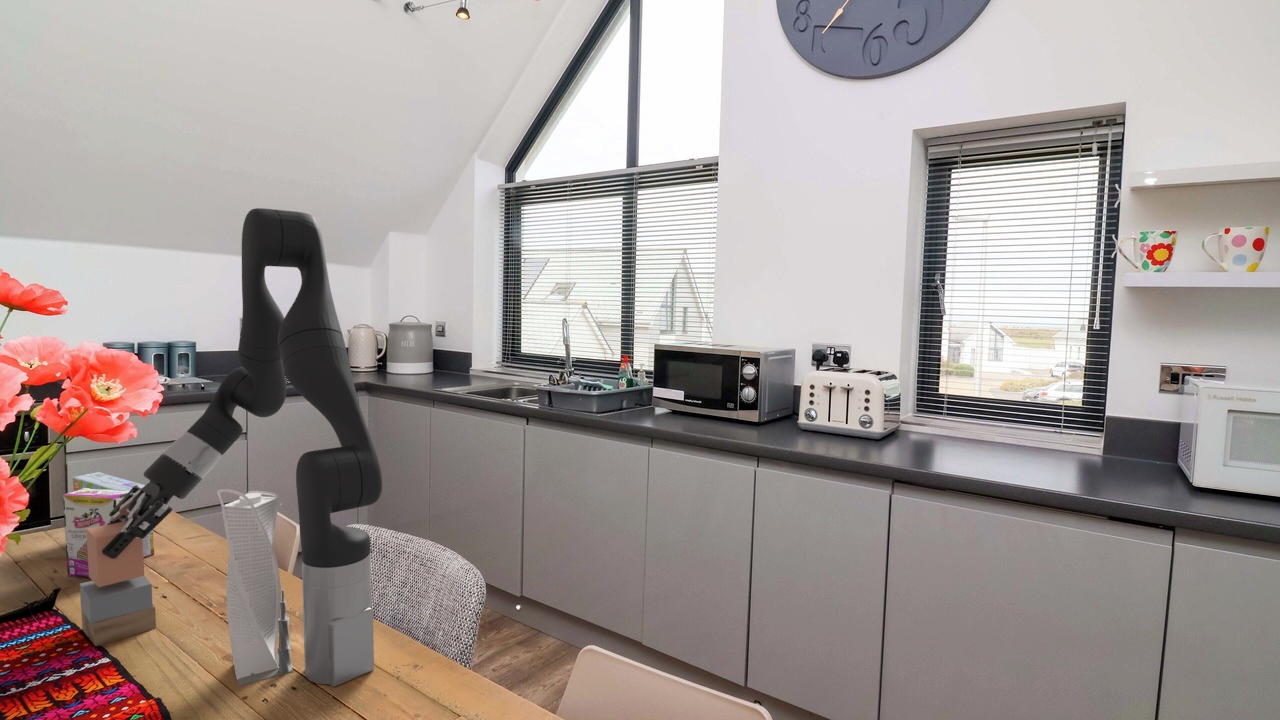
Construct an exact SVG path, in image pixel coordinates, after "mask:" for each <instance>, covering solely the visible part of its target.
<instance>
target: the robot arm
mask: <svg viewBox="0 0 1280 720" xmlns="http://www.w3.org/2000/svg"><path fill="white" fill-rule="evenodd" d="M325 253H326V252H325V247H324V241H323V236H322V232H321V228H320V226H319V223H318V221H317V220H316V218H315V217H314V216H313V215H312V214H310V213H306V212H301V211H300V212H299V211H292V210H286V209H285V210H283V209H272V208H261V207H258V208H257V207H256V208H252V209H250V210H249V211H248V212H247V214H246V215H245V218H244V221H243V226H242V233H241V294H242V295H241V296H242V297H241V298H242V316H241V317H242V319H241V328H240V333H239V342H238V348H237V360H238V362H239V364H240V365H241V366H240V367H237V368H235V369H233V370H232V371H230V372H229V373H228V374H227V375H226V376H224V379H222V382H221V383H220V385H219V387H218V388H217V391H216V392H215V394H214V395H213V398H212V399H211V401H210V402H209V404H208V406H207V408H206V410H205V411H204V413H203V414H202V415H201V416H200V417H199V418H198V419H197V420H196V421H195V422H194V423H193V424H192V425H191V426H190V427H189V428H188V430H187V431H185V432H184V433H183V434H182V435H180V437H178V438H177V439H176V440H174V441H173V442H172V443H171V444H170V445H169V446H168V447H167V448H166V449H165V450H164V451H163V452H162V453H161V455H159V456H158V458H156V459H155V461H154V462H153V463H152V464H151V465H149V467H147V468H146V469H145V471H144V472H143V477H145V478H146V479H148V480H149V482H148V483H146V484H144V485H145V486H144V487H143V488H142V489H141V488H140V487H138V486H137V485H136V486H134V487H133V488H132V489H131V490H130V491H129V492H128V493H127V495H126V496H125V497H124V498H123V499H122V500H121V501H120V502H119V504H118V505H117V506H116V507H115V508H114V509H113V510H112V511H111V512H110V514H109V516H111V518H110V519H109V522H110V523H108V524H107V525H110V524H114V523H119V522H124V521H128V522H127V523H126V525H125V526H124V528H123V529H122V531H121V532H119V533H118V535H117V536H116V537H115V538H114V539H113V540H112V541H111V542H110V543H109V544H108V545H107V546H106V547H105V548H104V549H103V550H102V553H103V554H104V555H106V556H108V557H110V558H112V559H115V558H117V557H118V555H119V554H120V553H121V552H122V551H123V550H124V549H125V548H126V547H127V546H128V545H129V544H130V543H131V542H132V541H133V539H137V538H141V539H143V538H144V537H146V536H147V535H148V534H149V533H150V532H151V531H152V530H153V531H154V529H155V528H156V527H157V526H158V525H159V524H160V523H161V522H162V521H163V520H164V519H165V518H166V517H168V515H169V514H171V512H172V511H173V508H172V506H171V507H170V506H169V505H168V504H169V502H170V501H171V499H172V498H173V497H175V498H178V499H180V500H184V499H185V498H187V497H188V495H189V494H190V493H191V492H192V491H193V490H194V489H195V488H196V486H198V485H199V483H201V481H202V480H203V479H204V478H206V476H207V475H208V474H209V473H210V472H211V470H212V469H213V468H214V467H215V466H216V465H217V463H218V461H219V460H221V458H222V457H223V455H225V454H226V452H227V451H228V450H229V449H230V448H231V447H232V446H233V445H234V443H235V442H236V441H237V440H238V439H239V438H240V437H241V436H242V435H243V426H242V425H241V424H240V423H239V422H238V420H236V418H234V417H233V415H234V412H235V409H236V408H237V407H240V408H242V409H243V410H245V411H246V412H248V413H249V414H251V415H254V416H255V417H258V418H269V417H271V416H274V415H275V414H277V412H279V411H280V410H281V408H282V407H283V406H284V404H285V401H286V397H287V382H286V381H287V380H288V382H289V383H290V384H291V386H292V387H293V388H294V389H295V390H296V392H298V393H299V394H300V395H301V396H302V397H303V399H305V400H306V401H307V402H308V403H309V404H311V405H312V406H313V407H314V409H316V410H317V411H319V413H321V415H322V416H324V418H325V419H326V420H327V422H328V423H329V425H331V427H332V429H333V430H334V433H335V434H336V436H337V439H338V442H339V444H340V446H338V447H330V448H325V449H317V450H316V449H315V450H312V451H311V450H309V451H307V452H305V453H303V454H302V455H301V456H300V458H299V459H298V461H297V465H296V469H295V470H296V471H295V481H296V482H295V483H296V485H295V486H296V487H295V488H296V496H297V506H298V507H297V508H298V518H299V519H298V520H299V536H300V537H299V538H300V548H301V577H302V580H301V581H302V582H301V583H302V584H301V585H302V612H303V615H302V618H303V622H302V623H303V652H304V676H305V677H306V679H307V680H308V681H310V682H311V683H315V684H320V685H321V684H322V685H330V686H332V687H336V686H337V687H338V686H339V685H341V684H344V683H346V682H349V681H351V680H353V679H356V678H358V677H360V676H362V675H365V674H367V673H370V672H371V671H373V670H375V656H374V655H375V654H374V653H375V652H374V651H375V649H374V646H375V645H374V644H375V642H374V610H373V608H372V578H371V577H372V576H371V575H372V573H371V572H372V567H371V564H372V563H371V562H372V561H371V560H372V559H371V556H372V555H371V547H372V546H371V538H370V535H369V533H368V532H367V531H365V530H363V529H360V528H357V527H354V526H345V525H339V524H334V523H332V521H331V514H332V513H333V514H334V513H337V512H342V511H343V512H344V511H349V510H353V509H358V508H363V507H367V506H371V505H373V504H375V503H377V502H378V501H379V499H380V497H381V495H382V491H383V475H382V470H381V465H380V461H379V458H378V455H377V450H376V448H375V445H374V443H373V440H372V437H371V435H370V434H371V433H370V432H369V429H368V426H367V423H366V419H365V417H364V414H363V411H362V409H361V405H360V401H359V397H358V394H357V390H356V387H355V382H354V378H353V374H352V369H351V366H350V360H349V355H348V351H347V348H346V342H345V339H344V335H343V332H342V328H341V324H340V322H339V317H338V314H337V311H336V308H335V304H334V303H335V302H334V300H333V299H334V298H333V294H332V291H331V286H330V280H329V279H330V278H329V274H328V268H327V261H326V254H325ZM266 267H281V268H282V267H283V268H297V269H298V271H299V273H300V277H301V285H300V289H299V291H298V293H297V296H296V298H295V300H294V301H293V303H292V305H291V306H290V307H289V310H288V311H287V313H286V315H285V316H284V314H283V313H282V311H281V309H280V307H279V305H278V304H277V302H276V301H275V300H274V297H273V296H272V294H271V292H270V291H269V288H268V285H267V283H266V278H265V274H266V273H265V271H266ZM286 379H287V380H286ZM134 522H135V523H134ZM146 527H147V528H146ZM145 528H146V529H145ZM144 529H145V530H144ZM122 532H123V533H122Z"/></svg>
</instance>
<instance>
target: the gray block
mask: <svg viewBox="0 0 1280 720" xmlns="http://www.w3.org/2000/svg"><path fill="white" fill-rule="evenodd" d="M152 586H153V585H152V582H151V581H150V580H149V579H148V578H147V577H146V576H145V575H144V576H142V577H138V578H134V579H130V580H126V581H122V582H118V583H114V584H110V585H106V586H102V587H98V586H97V585H96V584H95V583H94V582H93V581H92V580H90V581H87V582H86V581H85V582H81V583H79V594H80V596H79V597H80V609H81V608H82V610H83V612H84V613H85V615H86V617H87V618H88V620H89V622H90V623H91V624H92V623H96V622H100V621H104V620H107V619H111V618H115V617H119V616H122V615H126V614H130V613H134V612H137V611H141V610H145V609H149V608H152V607H153V605H154V604H153V589H152V588H153V587H152ZM152 604H153V605H152Z"/></svg>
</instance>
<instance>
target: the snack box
mask: <svg viewBox="0 0 1280 720" xmlns="http://www.w3.org/2000/svg"><path fill="white" fill-rule="evenodd" d="M136 485H137V486H138V487H140V488H141V489H142V488H143V487H144V486H145V485H146V484H143V483H142V484H141V483H139V482H135V481H132V480H128V479H124V478H120V477H117V476H114V475H110V474H107V473H104V472H100V471H97V472H92V473H85V474H82V475H77V476H73V477H72V486H73V491H76V490H80V489H83V488H92V489H106V490H121V491H130V490H131V489H132V488H133V487H134V486H136ZM146 528H147V527H146ZM146 528H145V529H146ZM145 529H144V530H145ZM154 541H155V540H154V529H153V530H152V531H151V532H150V533H149V534H148V535H147V536H146V537H144V538H143V559H144V558H148V557H151V556H154V555H155V542H154Z"/></svg>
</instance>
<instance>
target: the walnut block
mask: <svg viewBox="0 0 1280 720" xmlns="http://www.w3.org/2000/svg"><path fill="white" fill-rule="evenodd" d="M152 605H153V607H152V608H149V609H145V610H141V611H137V612H134V613H130V614H126V615H122V616H119V617H115V618H111V619H107V620H104V621H100V622H96V623H92V624H91V623H90V622H89V620H88V618H87V617H86V615H85V613H84V612H83V610H82V608H81V607H80V610H81V625H82V626H81V627H82V629H81V630H82V632H83V633H84V634H85V635H86V636H87V637H89V638H88V639H89V640H90V642H91V643H92V644H93V646H94V647H95V646H96V647H98V646H101V645H105V644H107V643H112V642H114V641H115V642H116V641H118V640H121V639H125V638H128V637H132V636H134V635H138V634H141V633H144V632H147V631H151V630H153V629H154V630H155V629H157V619H156V617H157V616H156V615H157V614H156V606H155V604H153V603H152Z"/></svg>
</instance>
